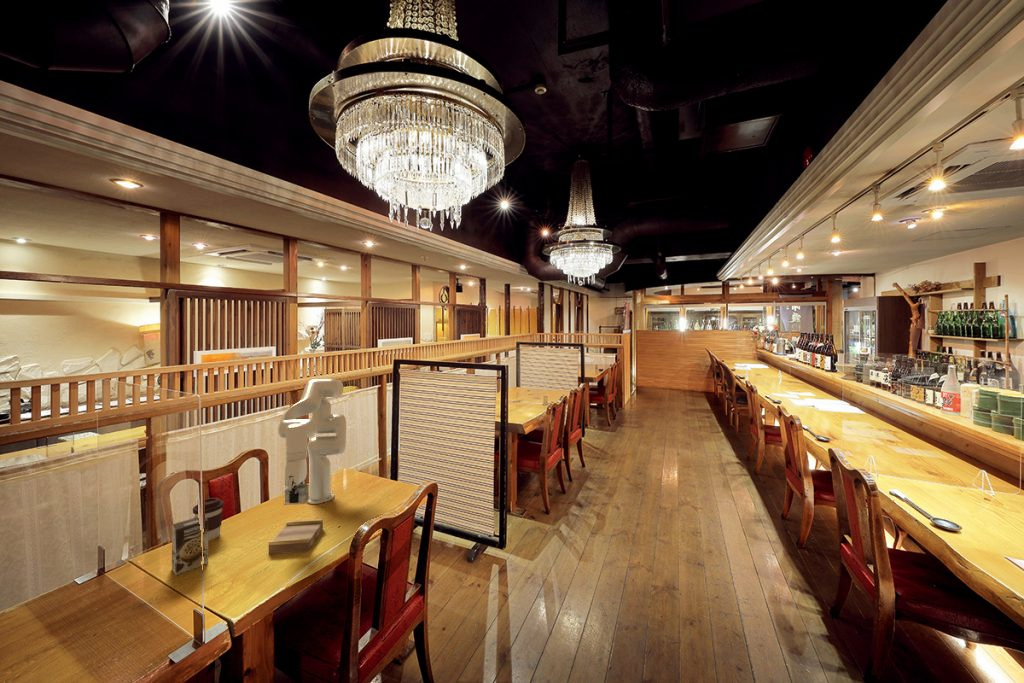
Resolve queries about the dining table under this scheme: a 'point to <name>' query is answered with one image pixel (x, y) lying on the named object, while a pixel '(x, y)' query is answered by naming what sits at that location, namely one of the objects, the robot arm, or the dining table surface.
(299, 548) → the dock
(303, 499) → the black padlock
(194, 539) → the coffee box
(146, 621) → the dining table surface
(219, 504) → the coffee cup
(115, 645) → the dining table surface
